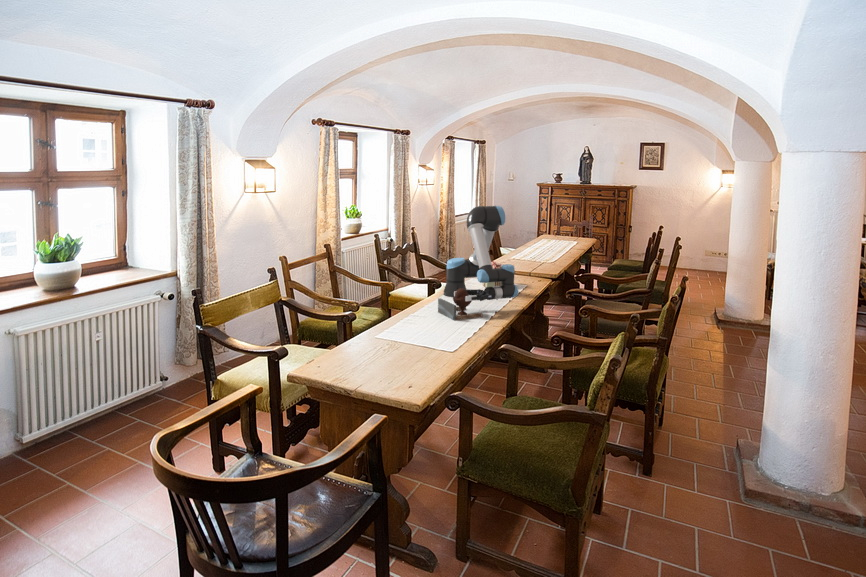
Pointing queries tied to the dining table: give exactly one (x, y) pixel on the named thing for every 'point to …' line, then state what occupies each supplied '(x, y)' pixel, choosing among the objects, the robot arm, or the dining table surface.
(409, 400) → the dining table surface
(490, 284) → the gift box
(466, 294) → the ice cream bowl
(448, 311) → the frame
